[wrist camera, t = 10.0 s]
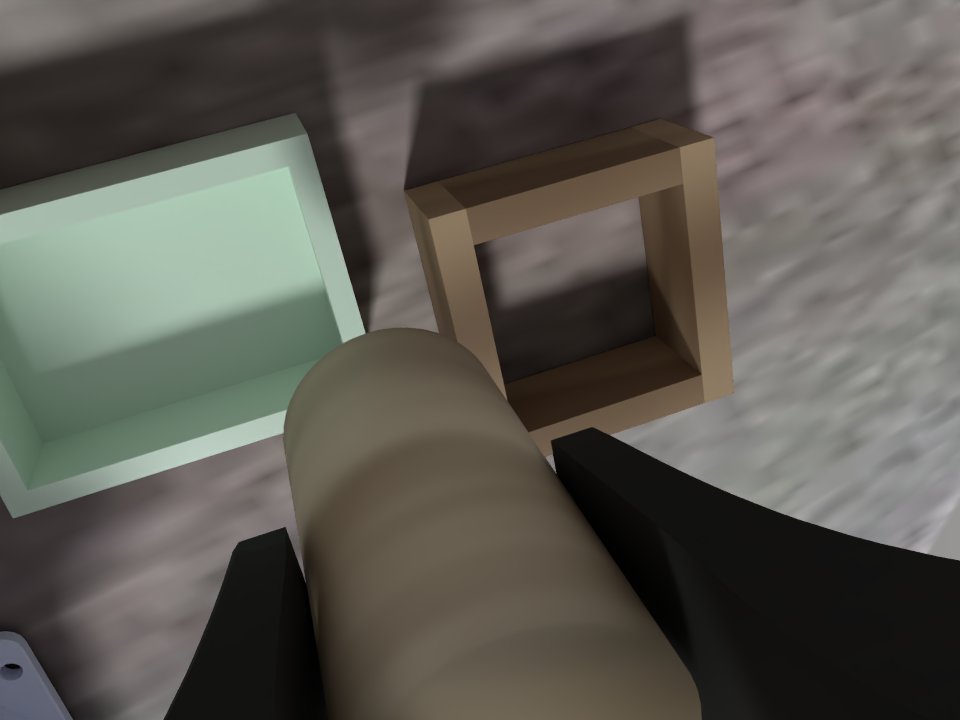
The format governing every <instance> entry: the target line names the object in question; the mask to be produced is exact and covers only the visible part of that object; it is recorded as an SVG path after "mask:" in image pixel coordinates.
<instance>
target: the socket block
mask: <svg viewBox="0 0 960 720" xmlns="http://www.w3.org/2000/svg"><path fill="white" fill-rule="evenodd" d="M404 193H405V197H406V201H407V205H408V209H409V213H410V217H411V221H412V225H413V229H414V233H415V237H416V241H417V245H418V249H419V253H420V257H421V261H422V265H423V269H424V273H425V277H426V281H427V285H428V289H429V293H430V297H431V301H432V306H433V310H434V314H435V318H436V322H437V326H438V330H439V334H441V335H444V336H446V337H449V338H451V339H453V340H455V341H456V342H458V343H460V344H461V345H463V346H464V347H465V348H467V349H468V350H469V351H471V352H472V353H473V354H474V355H475V356H476V357H477V358H478V359H479V360H480V362H481V363H482V364H483V366H484V367H485V369H486V370H487V371H488V373H489V374H490V376H491V377H492V379H493V380H494V382H495V383H496V385H497V386H498V388H499V389H500V391H501V392H502V394H503V395H504V397H505V398H506V400H507V401H508V403H509V404H510V406H511V407H512V409H513V410H514V412H515V413H516V415H517V416H518V418H519V419H520V421H521V422H522V424H523V425H524V427H525V428H526V430H527V431H528V433H529V434H530V435H531V437H532V438H533V440H534V441H535V443H536V444H537V446H538V447H539V449H540V450H541V452H542V453H543V455H544V456H545V457H546V456H549V455H552V454H553V451H552V446H551V440H553V439H556V438H560V437H563V436H566V435H569V434H572V433H575V432H578V431H581V430H584V429H587V428H590V427H594V428H596V429H598V430H600V431H602V432H604V433H606V434H608V435H611V434H614V433H617V432H620V431H623V430H626V429H629V428H632V427H635V426H638V425H641V424H644V423H647V422H650V421H653V420H656V419H659V418H661V417H664V416H667V415H670V414H673V413H676V412H679V411H682V410H685V409H688V408H691V407H694V406H697V405H700V404H703V403H706V402H709V401H712V400H715V399H718V398H721V397H724V396H727V395H730V394H733V393H734V385H733V373H732V360H731V348H730V335H729V322H728V310H727V297H726V284H725V272H724V259H723V247H722V234H721V221H720V209H719V196H718V183H717V171H716V158H715V145H714V138H713V137H711V136H708V135H705V134H702V133H699V132H697V131H694V130H691V129H688V128H686V127H683V126H680V125H677V124H675V123H672V122H669V121H666V120H663V119H658V120H655V121H651V122H648V123H644V124H640V125H637V126H633V127H630V128H626V129H623V130H619V131H615V132H612V133H608V134H605V135H601V136H598V137H594V138H590V139H587V140H583V141H580V142H576V143H573V144H569V145H565V146H562V147H558V148H555V149H551V150H548V151H544V152H540V153H537V154H533V155H530V156H526V157H523V158H519V159H515V160H512V161H508V162H505V163H501V164H498V165H494V166H490V167H487V168H483V169H480V170H476V171H473V172H469V173H465V174H462V175H458V176H455V177H451V178H448V179H444V180H440V181H437V182H433V183H430V184H426V185H423V186H419V187H415V188H412V189H408V190H405V191H404ZM636 197H639V202H640V211H641V219H642V227H643V235H644V243H645V251H646V260H647V268H648V276H649V284H650V292H651V301H652V309H653V317H654V325H655V333H656V336H653V337H650V338H647V339H644V340H641V341H638V342H635V343H632V344H629V345H625V346H622V347H619V348H616V349H613V350H610V351H607V352H604V353H601V354H597V355H594V356H591V357H588V358H585V359H582V360H579V361H576V362H573V363H569V364H566V365H563V366H560V367H557V368H554V369H551V370H548V371H545V372H541V373H538V374H535V375H532V376H529V377H526V378H523V379H520V380H517V381H514V382H510V383H507V384H504V383H503V378H502V373H501V369H500V364H499V360H498V355H497V350H496V346H495V341H494V336H493V332H492V327H491V323H490V318H489V313H488V309H487V304H486V300H485V295H484V290H483V286H482V281H481V277H480V272H479V267H478V263H477V258H476V254H475V249H474V245H476V244H480V243H483V242H486V241H490V240H493V239H497V238H500V237H503V236H507V235H510V234H514V233H517V232H520V231H524V230H527V229H531V228H534V227H537V226H541V225H544V224H548V223H551V222H554V221H558V220H561V219H565V218H568V217H572V216H575V215H578V214H582V213H585V212H589V211H592V210H595V209H599V208H602V207H606V206H609V205H612V204H616V203H619V202H623V201H626V200H629V199H633V198H636Z"/></svg>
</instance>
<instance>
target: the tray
mask: <svg viewBox="0 0 960 720" xmlns="http://www.w3.org/2000/svg"><path fill="white" fill-rule="evenodd" d="M363 334H366V333H365V330H364V326H363V323H362V319H361V316H360V313H359V309H358V306H357V302H356V299H355V295H354V292H353V288H352V285H351V282H350V278H349V275H348V271H347V268H346V264H345V261H344V258H343V254H342V251H341V247H340V244H339V240H338V237H337V234H336V230H335V227H334V223H333V220H332V216H331V213H330V210H329V206H328V203H327V199H326V196H325V192H324V189H323V185H322V182H321V179H320V175H319V172H318V168H317V165H316V161H315V158H314V155H313V151H312V148H311V144H310V141H309V137H308V134H307V132H306V130H305V129H304V127H303V125H302V123H301V122H300V120H299V118H298V116H297V115H296V113H292V114H288V115H284V116H281V117H277V118H273V119H269V120H265V121H261V122H258V123H254V124H250V125H246V126H242V127H238V128H235V129H231V130H227V131H223V132H219V133H215V134H212V135H208V136H204V137H200V138H196V139H192V140H188V141H185V142H181V143H177V144H173V145H169V146H165V147H162V148H158V149H154V150H150V151H146V152H142V153H139V154H135V155H131V156H127V157H123V158H119V159H116V160H112V161H108V162H104V163H100V164H96V165H93V166H89V167H85V168H81V169H77V170H73V171H69V172H66V173H62V174H58V175H54V176H50V177H46V178H43V179H39V180H35V181H31V182H27V183H23V184H20V185H16V186H12V187H8V188H4V189H0V496H1V498H2V500H3V502H4V503H5V505H6V507H7V509H8V511H9V512H10V514H11V516H12V518H16V517H20V516H23V515H26V514H29V513H32V512H35V511H39V510H42V509H45V508H48V507H51V506H54V505H57V504H61V503H64V502H67V501H70V500H73V499H76V498H79V497H83V496H86V495H89V494H92V493H95V492H98V491H101V490H105V489H108V488H111V487H114V486H117V485H120V484H124V483H127V482H130V481H133V480H136V479H139V478H142V477H146V476H149V475H152V474H155V473H158V472H161V471H164V470H168V469H171V468H174V467H177V466H180V465H183V464H187V463H190V462H193V461H196V460H199V459H202V458H205V457H209V456H212V455H215V454H218V453H221V452H224V451H227V450H231V449H234V448H237V447H240V446H243V445H246V444H249V443H253V442H256V441H259V440H262V439H265V438H268V437H272V436H275V435H278V434H281V433H283V432H284V422H285V416H286V412H287V409H288V406H289V402H290V400H291V398H292V396H293V394H294V392H295V390H296V388H297V386H298V385H299V383H300V382H301V380H302V379H303V377H304V376H305V374H306V373H307V372H308V371H309V370H310V369H311V368H312V366H313V365H314V364H315V363H316V362H318V361H319V360H320V359H321V358H322V357H323V356H324V355H326V354H327V353H328V352H330V351H331V350H333V349H334V348H336V347H337V346H339V345H341V344H343V343H345V342H346V341H348V340H350V339H352V338H355V337H358V336H360V335H363Z"/></svg>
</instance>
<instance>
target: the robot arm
mask: <svg viewBox="0 0 960 720" xmlns="http://www.w3.org/2000/svg"><path fill="white" fill-rule="evenodd" d="M551 446H552V451H553V457H554V462H555V468H556V473H557V476H558V477H559V479H560V480H561V482H562V483H563V485H564V486H565V488H566V489H567V491H568V492H569V494H570V495H571V497H572V498H573V500H574V501H575V503H576V504H577V506H578V507H579V509H580V510H581V512H582V513H583V514H584V516H585V517H586V519H587V520H588V522H589V523H590V525H591V526H592V528H593V529H594V531H595V532H596V534H597V535H598V537H599V538H600V540H601V541H602V543H603V544H604V546H605V547H606V549H607V550H608V552H609V553H610V555H611V556H612V558H613V559H614V561H615V562H616V564H617V565H618V567H619V568H620V570H621V571H622V573H623V574H624V576H625V577H626V579H627V580H628V582H629V583H630V585H631V586H632V588H633V589H634V591H635V592H636V594H637V595H638V596H639V598H640V599H641V601H642V602H643V604H644V605H645V607H646V608H647V610H648V611H649V613H650V614H651V616H652V617H653V619H654V620H655V622H656V623H657V625H658V626H659V628H660V629H661V631H662V632H663V634H664V635H665V637H666V638H667V640H668V641H669V643H670V644H671V646H672V647H673V649H674V650H675V652H676V653H677V655H678V656H679V658H680V659H681V661H682V662H683V664H684V665H685V667H686V668H687V670H688V671H689V673H690V674H691V676H692V678H693V680H694V683H695V685H696V687H697V690H698V694H699V698H700V703H701V715H702V720H960V561H959V560H954V559H948V558H943V557H937V556H933V555H929V554H924V553H920V552H915V551H911V550H907V549H902V548H898V547H893V546H889V545H885V544H880V543H876V542H873V541H869V540H865V539H861V538H857V537H854V536H850V535H847V534H844V533H840V532H837V531H834V530H831V529H827V528H824V527H821V526H818V525H814V524H811V523H808V522H805V521H802V520H799V519H796V518H793V517H790V516H787V515H784V514H781V513H779V512H776V511H773V510H771V509H768V508H766V507H763V506H760V505H758V504H755V503H753V502H750V501H748V500H745V499H743V498H740V497H738V496H735V495H733V494H730V493H728V492H726V491H724V490H721V489H719V488H717V487H714V486H712V485H710V484H708V483H705V482H703V481H701V480H699V479H697V478H694V477H692V476H690V475H688V474H686V473H684V472H682V471H680V470H677V469H675V468H673V467H671V466H669V465H667V464H665V463H663V462H661V461H659V460H657V459H655V458H653V457H651V456H649V455H647V454H645V453H643V452H641V451H639V450H637V449H635V448H634V447H632V446H630V445H628V444H626V443H624V442H622V441H620V440H618V439H616V438H614V437H612V436H610V435H608V434H606V433H604V432H602V431H600V430H598V429H596V428H594V427H590V428H587V429H584V430H581V431H578V432H575V433H572V434H569V435H566V436H563V437H560V438H556V439H553V440H551ZM12 663H13V664H17V665H19V666H20V667H21V668H19V669H9V668H6V667H5V666H4V665H6V664H12ZM0 720H73V719H72V717H71V715H70V714H69V712H68V710H67V709H66V707H65V705H64V704H63V702H62V700H61V699H60V697H59V695H58V694H57V692H56V690H55V689H54V687H53V685H52V684H51V682H50V680H49V679H48V677H47V675H46V674H45V672H44V670H43V669H42V667H41V665H40V663H39V662H38V660H37V658H36V657H35V655H34V653H33V652H32V650H31V648H30V647H29V645H28V643H27V642H26V640H25V639H24V638H23V637H22V636H21V635H19V634H17V633H14V632H8V631H3V632H0ZM164 720H328V715H327V709H326V702H325V696H324V690H323V684H322V678H321V672H320V665H319V659H318V653H317V647H316V641H315V635H314V628H313V622H312V616H311V610H310V604H309V597H308V591H307V585H306V582H305V580H304V577H303V574H302V571H301V569H300V566H299V563H298V560H297V558H296V555H295V552H294V549H293V546H292V544H291V541H290V538H289V535H288V533H287V530H286V527H284V528H281V529H278V530H274V531H271V532H268V533H265V534H262V535H259V536H256V537H253V538H250V539H247V540H244V541H241V542H238V544H237V546H236V547H235V549H234V551H233V552H232V556H231V559H230V562H229V565H228V568H227V571H226V575H225V578H224V580H223V583H222V586H221V589H220V592H219V595H218V597H217V600H216V603H215V605H214V608H213V611H212V613H211V616H210V619H209V621H208V624H207V626H206V628H205V631H204V633H203V635H202V638H201V640H200V643H199V645H198V647H197V650H196V652H195V655H194V657H193V659H192V662H191V664H190V666H189V668H188V671H187V673H186V675H185V677H184V679H183V681H182V683H181V685H180V687H179V689H178V691H177V693H176V695H175V697H174V699H173V701H172V704H171V706H170V708H169V710H168V712H167V714H166V716H165V718H164Z"/></svg>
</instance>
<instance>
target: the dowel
mask: <svg viewBox="0 0 960 720" xmlns="http://www.w3.org/2000/svg"><path fill="white" fill-rule="evenodd" d="M283 441H284V449H285V456H286V462H287V468H288V474H289V480H290V486H291V493H292V499H293V505H294V511H295V517H296V523H297V530H298V536H299V542H300V548H301V554H302V560H303V567H304V573H305V579H306V585H307V591H308V597H309V604H310V610H311V616H312V622H313V628H314V635H315V641H316V647H317V653H318V659H319V665H320V672H321V678H322V684H323V690H324V696H325V702H326V709H327V715H328V720H702V715H701V703H700V698H699V694H698V690H697V687H696V685H695V683H694V680H693V678H692V676H691V674H690V673H689V671H688V670H687V668H686V667H685V665H684V664H683V662H682V661H681V659H680V658H679V656H678V655H677V653H676V652H675V650H674V649H673V647H672V646H671V644H670V643H669V641H668V640H667V638H666V637H665V635H664V634H663V632H662V631H661V629H660V628H659V626H658V625H657V623H656V622H655V620H654V619H653V617H652V616H651V614H650V613H649V611H648V610H647V608H646V607H645V605H644V604H643V602H642V601H641V599H640V598H639V596H638V595H637V594H636V592H635V591H634V589H633V588H632V586H631V585H630V583H629V582H628V580H627V579H626V577H625V576H624V574H623V573H622V571H621V570H620V568H619V567H618V565H617V564H616V562H615V561H614V559H613V558H612V556H611V555H610V553H609V552H608V550H607V549H606V547H605V546H604V544H603V543H602V541H601V540H600V538H599V537H598V535H597V534H596V532H595V531H594V529H593V528H592V526H591V525H590V523H589V522H588V520H587V519H586V517H585V516H584V514H583V513H582V512H581V510H580V509H579V507H578V506H577V504H576V503H575V501H574V500H573V498H572V497H571V495H570V494H569V492H568V491H567V489H566V488H565V486H564V485H563V483H562V482H561V480H560V479H559V477H558V476H557V474H556V473H555V471H554V470H553V468H552V467H551V465H550V464H549V462H548V461H547V459H546V458H545V456H544V455H543V453H542V452H541V450H540V449H539V447H538V446H537V444H536V443H535V441H534V440H533V438H532V437H531V435H530V434H529V433H528V431H527V430H526V428H525V427H524V425H523V424H522V422H521V421H520V419H519V418H518V416H517V415H516V413H515V412H514V410H513V409H512V407H511V406H510V404H509V403H508V401H507V400H506V398H505V397H504V395H503V394H502V392H501V391H500V389H499V388H498V386H497V385H496V383H495V382H494V380H493V379H492V377H491V376H490V374H489V373H488V371H487V370H486V369H485V367H484V366H483V364H482V363H481V362H480V360H479V359H478V358H477V357H476V356H475V355H474V354H473V353H472V352H471V351H469V350H468V349H467V348H465V347H464V346H463V345H461V344H460V343H458V342H456V341H455V340H453V339H451V338H449V337H446V336H444V335H441V334H439V333H436V332H432V331H428V330H424V329H416V328H390V329H382V330H377V331H373V332H369V333H366V334H363V335H360V336H358V337H355V338H352V339H350V340H348V341H346V342H345V343H343V344H341V345H339V346H337V347H336V348H334V349H333V350H331V351H330V352H328V353H327V354H326V355H324V356H323V357H322V358H321V359H320V360H319V361H318V362H316V363H315V364H314V365H313V366H312V368H311V369H310V370H309V371H308V372H307V373H306V374H305V376H304V377H303V379H302V380H301V382H300V383H299V385H298V386H297V388H296V390H295V392H294V394H293V396H292V398H291V400H290V402H289V406H288V409H287V412H286V416H285V422H284V432H283Z"/></svg>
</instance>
